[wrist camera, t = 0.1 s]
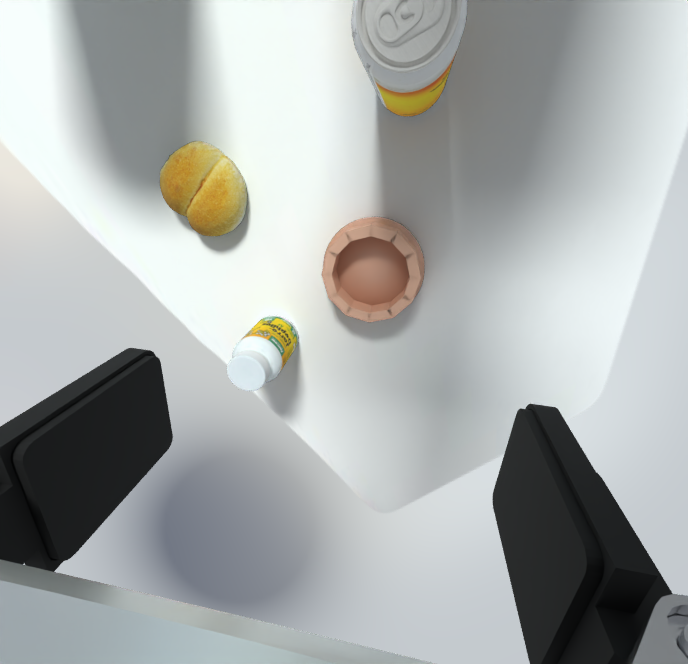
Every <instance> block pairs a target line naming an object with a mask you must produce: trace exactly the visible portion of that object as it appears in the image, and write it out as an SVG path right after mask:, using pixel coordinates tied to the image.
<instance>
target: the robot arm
mask: <svg viewBox="0 0 688 664" xmlns="http://www.w3.org/2000/svg"><path fill="white" fill-rule="evenodd" d="M172 438H173V436H172V429H171V423H170V417H169V411H168V405H167V399H166V393H165V387H164V381H163V374H162V369H161V363H160V360H159V358H157V357H156V356H155V354H154V352H152V351H150V350H142V349H135V348H128V349H126V350H124V351H123V352H121V353H120V354H118V355H116V356H115V357H113V358H111V359H110V360H108V361H107V362H105V363H103V364H102V365H100V366H98V367H97V368H95V369H93V370H92V371H90V372H89V373H87V374H85V375H84V376H82V377H81V378H79V379H77V380H76V381H74V382H72V383H71V384H69V385H67V386H66V387H64V388H62V389H61V390H59V391H58V392H56V393H54V394H53V395H51V396H49V397H48V398H46V399H45V400H43V401H41V402H40V403H38V404H36V405H35V406H33V407H32V408H30V409H28V410H27V411H25V412H23V413H22V414H20V415H19V416H17V417H15V418H14V419H12V420H10V421H9V422H7V423H5V424H4V425H2V426H1V427H0V664H435V663H431V662H427V661H423V660H419V659H415V658H410V657H406V656H402V655H398V654H394V653H390V652H386V651H382V650H378V649H374V648H370V647H366V646H362V645H358V644H353V643H349V642H345V641H341V640H337V639H333V638H329V637H325V636H321V635H317V634H313V633H309V632H304V631H300V630H296V629H292V628H288V627H284V626H280V625H276V624H272V623H267V622H263V621H259V620H255V619H251V618H246V617H242V616H238V615H234V614H230V613H226V612H221V611H217V610H213V609H209V608H205V607H200V606H196V605H192V604H188V603H184V602H180V601H175V600H171V599H167V598H162V597H159V596H154V595H150V594H146V593H142V592H138V591H133V590H129V589H125V588H121V587H116V586H112V585H108V584H104V583H99V582H95V581H91V580H86V579H82V578H78V577H73V576H69V575H65V574H61V573H56V572H54V571H55V570H56V569H57V568H58V567H59V565H60V564H61V563H62V562H63V561H65V560H68V559H70V558H71V557H72V556H73V555H74V554H75V553H76V552H77V551H78V550H79V549H80V548H81V547H82V545H83V544H84V543H85V542H86V541H87V540H88V539H89V538H90V537H91V535H92V534H93V533H94V532H95V531H96V530H97V529H98V527H99V526H100V525H101V524H102V523H103V522H104V521H105V519H107V517H108V516H109V515H110V514H111V513H112V512H113V511H114V510H115V508H116V507H117V506H118V505H119V504H120V503H121V502H122V501H123V499H124V498H125V497H126V496H127V495H128V494H129V493H130V492H131V491H132V489H133V488H134V487H135V486H136V485H137V484H138V483H139V482H140V480H141V479H142V478H143V477H144V476H145V475H146V474H147V472H148V471H149V470H150V469H151V468H152V467H153V466H154V464H156V462H157V461H158V460H159V459H160V458H161V457H162V456H163V454H164V453H165V452H166V451H167V450H168V449H169V447H170V445H171V442H172ZM493 508H494V512H495V516H496V521H497V525H498V530H499V534H500V538H501V542H502V546H503V551H504V555H505V559H506V563H507V568H508V572H509V577H510V581H511V585H512V589H513V594H514V597H515V602H516V606H517V611H518V615H519V619H520V623H521V628H522V632H523V636H524V640H525V645H526V649H527V653H528V658H529V661H530V664H688V596H685V595H677V594H672V592H671V590H670V589H669V587H668V586H667V584H666V582H665V581H664V579H663V577H662V576H661V574H660V573H659V571H658V569H657V568H656V566H655V564H654V563H653V561H652V559H651V558H650V556H649V554H648V553H647V551H646V550H645V548H644V546H643V545H642V543H641V541H640V540H639V538H638V536H637V535H636V533H635V532H634V530H633V528H632V527H631V525H630V523H629V522H628V520H627V518H626V517H625V515H624V514H623V512H622V510H621V509H620V507H619V505H618V504H617V502H616V500H615V499H614V497H613V496H612V494H611V492H610V491H609V489H608V487H607V486H606V484H605V482H604V481H603V479H602V478H601V477H600V476H599V474H598V473H596V472H595V470H594V469H593V467H592V465H591V463H590V462H589V460H588V459H587V457H586V455H585V454H584V452H583V450H582V448H581V447H580V445H579V444H578V442H577V440H576V438H575V437H574V435H573V433H572V432H571V430H570V429H569V427H568V425H567V424H566V422H565V420H564V419H563V417H562V415H561V414H560V412H559V410H558V409H557V408H555V407H549V406H542V405H535V404H529V405H528V406H527V407H526V409H519V410H518V412H517V414H516V418H515V421H514V424H513V428H512V431H511V434H510V438H509V441H508V444H507V448H506V451H505V455H504V458H503V461H502V465H501V468H500V471H499V475H498V478H497V481H496V485H495V488H494V492H493ZM24 563H25V565H23V564H24Z"/></svg>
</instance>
